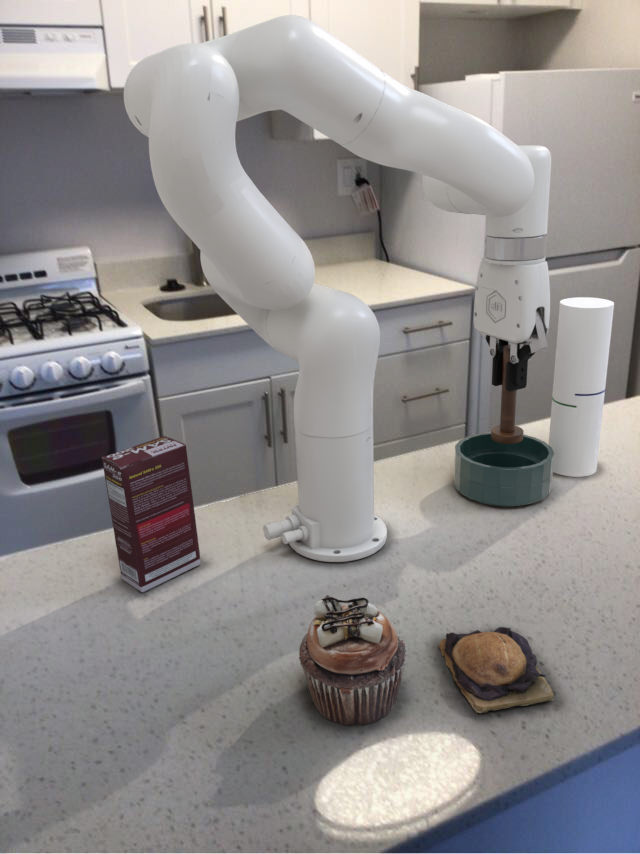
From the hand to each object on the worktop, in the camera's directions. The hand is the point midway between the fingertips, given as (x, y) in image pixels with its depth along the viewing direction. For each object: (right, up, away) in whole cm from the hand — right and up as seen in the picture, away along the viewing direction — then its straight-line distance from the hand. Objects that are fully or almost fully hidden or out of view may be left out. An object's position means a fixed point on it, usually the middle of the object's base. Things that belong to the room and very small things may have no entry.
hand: (509, 385), depth 103 cm
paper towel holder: (0, -7, +3) cm, 8 cm away
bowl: (0, -14, +5) cm, 15 cm away
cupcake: (-23, -30, -33) cm, 50 cm away
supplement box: (-45, -23, -12) cm, 52 cm away
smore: (-9, -29, -31) cm, 43 cm away
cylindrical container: (+12, -12, +11) cm, 20 cm away
